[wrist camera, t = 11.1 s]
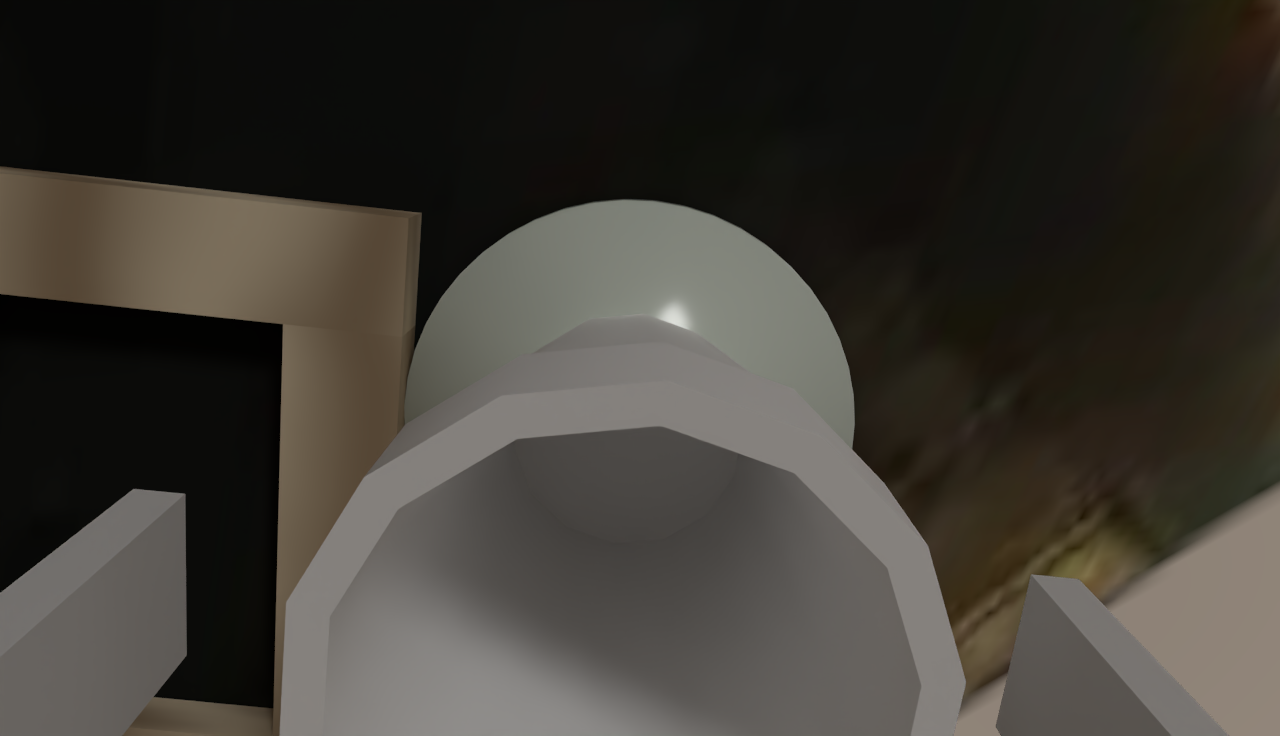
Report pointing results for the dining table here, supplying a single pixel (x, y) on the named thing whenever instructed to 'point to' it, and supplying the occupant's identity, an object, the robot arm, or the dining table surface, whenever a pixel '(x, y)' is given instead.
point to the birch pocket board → (256, 291)
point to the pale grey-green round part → (633, 301)
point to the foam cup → (620, 564)
